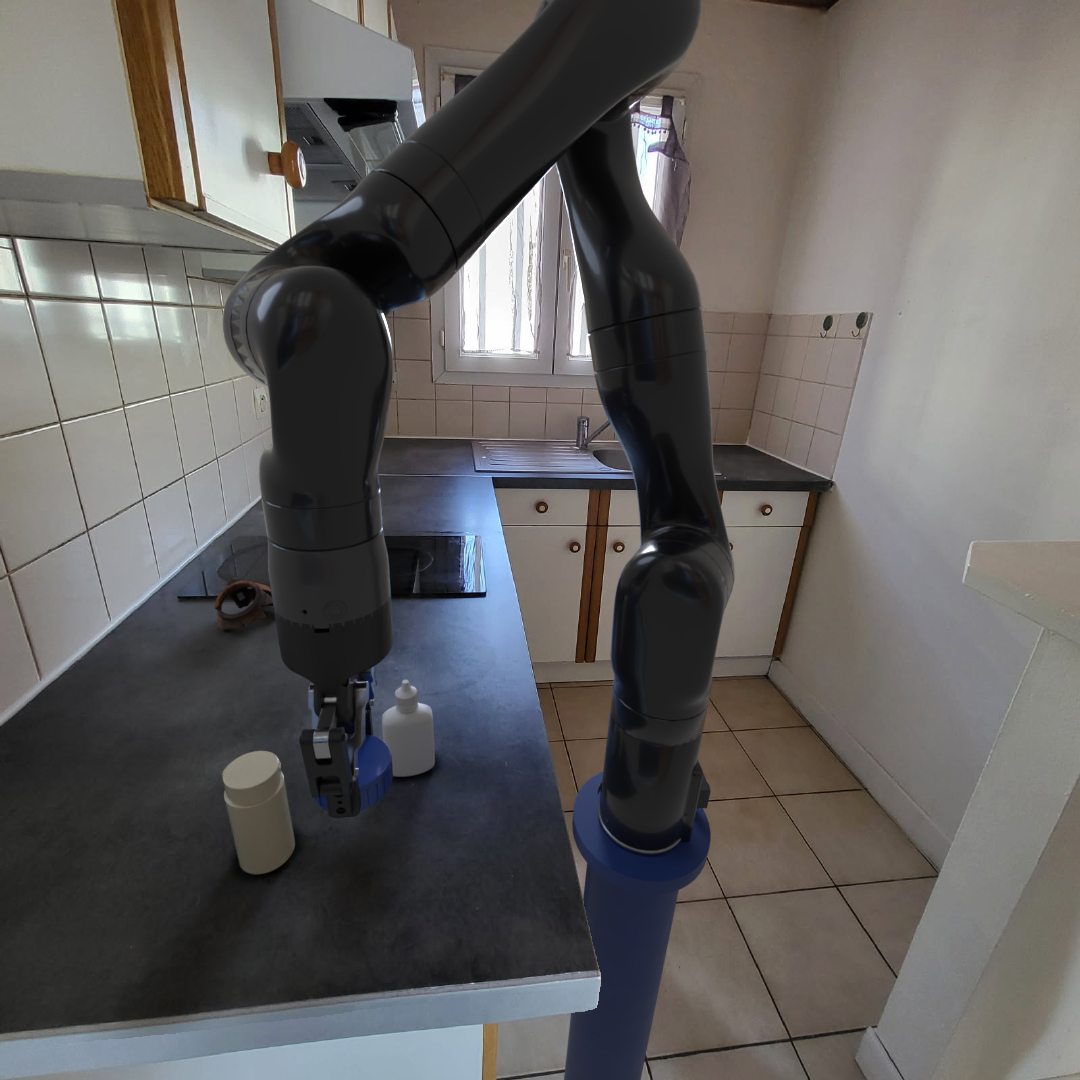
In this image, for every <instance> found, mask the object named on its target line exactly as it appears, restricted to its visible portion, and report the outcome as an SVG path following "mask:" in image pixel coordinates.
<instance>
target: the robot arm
mask: <svg viewBox="0 0 1080 1080" xmlns="http://www.w3.org/2000/svg"><path fill="white" fill-rule="evenodd" d="M701 13H702V0H541V1H540V4H539V5H538V8H537V10H536V12H535V14H534V19H533V21H532V22H531V23H530V24H529V26H528V27H527V28H526V29H525V30H524V31H523V32H522V33H521V34H520V35H519V36H518V37H517V38H516V39H515V40H514V41H513V42H512V43H511V44H510V45H509V46H508V47H507V48H506V49H505V50H504V51H503V52H502V53H501V54H500V55H499V56H497V58H496V59H495V60H493V61H492V62H491V63H490V64H489V65H488V66H487V67H486V68H484V69H483V70H482V71H481V72H480V73H479V74H478V75H477V76H476V77H475V78H474V79H472V80H471V81H470V82H469V83H468V84H466V86H464V87H462V89H461V90H460V91H459V92H457V93H456V94H455V95H454V96H453V97H452V98H450V99H449V100H448V101H447V102H446V103H445V104H443V105H442V106H441V107H440V108H439V109H438V110H437V111H435V113H433V114H432V115H431V116H430V117H429V118H427V119H426V120H425V121H424V122H423V123H422V124H420V126H418V127H417V128H416V129H415V130H414V131H413V132H412V133H410V135H408V136H407V137H406V138H405V139H404V140H403V141H402V142H401V143H400V144H399V145H397V146H396V147H395V148H394V149H393V150H392V151H391V152H390V153H389V154H388V155H387V156H385V158H383V159H382V160H381V161H380V162H379V163H377V165H376V166H375V167H374V168H373V169H372V170H371V171H369V173H367V175H366V176H365V177H363V179H362V180H361V181H359V183H358V184H357V185H356V186H355V188H354V189H352V191H351V192H350V193H348V195H347V196H346V197H344V199H343V200H341V201H340V202H339V203H338V204H337V205H336V206H334V207H333V208H331V210H329V211H328V212H326V213H325V214H323V215H321V216H320V217H318V218H317V219H315V220H314V221H312V222H311V223H310V224H308V225H307V226H305V227H304V228H302V229H301V230H299V231H298V232H297V233H295V234H294V235H293V236H291V237H290V238H288V239H286V240H285V241H284V242H283V243H281V244H279V245H278V246H277V247H276V248H274V249H273V250H272V251H270V252H269V253H268V254H266V255H265V256H264V257H263V258H262V259H260V260H259V261H258V262H257V263H256V264H254V266H252V267H251V268H250V269H249V270H248V271H246V272H245V274H244V275H243V276H242V277H241V278H240V279H238V281H237V283H236V284H235V285H234V286H233V288H232V289H231V290H230V293H229V294H228V296H227V299H226V301H225V304H224V307H223V311H222V319H221V320H222V321H221V327H222V328H221V329H222V333H223V339H224V342H225V346H226V348H227V350H228V352H229V354H230V356H231V357H232V359H233V361H234V362H235V363H236V364H237V366H239V368H240V369H241V370H242V372H244V373H245V374H246V375H248V376H249V377H250V378H251V379H253V380H255V381H256V382H258V383H259V384H261V385H262V386H263V385H264V386H265V387H267V390H268V397H269V409H270V411H269V412H270V423H271V424H270V426H271V443H270V444H269V445H268V446H267V447H266V448H265V449H263V451H262V452H261V456H260V459H259V462H258V480H259V492H260V497H261V506H262V511H263V517H264V525H265V531H266V537H267V572H268V580H269V588H270V589H271V594H272V600H273V606H272V607H273V612H274V619H275V625H276V626H275V627H276V632H277V639H278V645H279V653H280V657H281V660H282V662H283V664H284V665H285V666H286V668H287V669H289V671H292V672H293V673H294V674H296V675H298V676H300V677H302V678H305V679H306V680H307V681H309V682H311V683H309V685H308V689H307V708H308V709H309V710H310V711H311V728H305V729H302V730H301V733H300V735H299V739H298V740H299V741H298V742H299V743H298V744H299V745H300V751H301V756H302V759H303V765H304V768H305V772H306V778H307V781H308V786H309V791H310V794H311V798H313V799H314V797H321V796H326V800H327V807H328V811H327V814H328V816H329V817H330V818H332V819H341V818H344V819H345V818H354V817H357V816H359V814H360V812H361V811H360V807H361V798H360V789H359V779H358V776H359V768H358V749H359V748H360V747H361V745H362V744H363V742H364V740H365V734H368V735H373V736H374V728H373V715H372V711H373V709H374V706H375V696H376V695H375V694H376V687H377V686H378V680H377V678H376V666H377V665H378V664H380V663H381V662H382V661H384V659H386V658H387V656H388V655H389V653H390V652H391V650H392V647H393V645H394V624H393V608H392V591H391V576H390V562H389V554H388V547H387V545H386V540H385V539H386V538H385V535H384V527H383V526H384V525H383V514H382V512H383V511H382V509H383V508H382V496H381V495H382V494H381V483H380V475H379V463H380V457H381V454H382V450H383V446H384V441H385V434H386V428H387V422H388V418H389V417H388V416H389V411H390V410H389V409H390V404H391V398H392V390H393V380H394V351H393V344H392V338H391V335H390V331H389V327H388V323H387V320H386V318H387V316H389V315H390V314H391V313H393V312H395V311H397V310H398V309H400V308H402V307H405V306H408V305H413V304H416V303H420V302H423V301H426V300H427V299H430V298H431V297H432V296H434V295H435V294H437V293H438V292H439V291H441V290H442V289H443V288H444V287H445V286H446V285H447V284H448V283H449V282H450V281H451V280H452V279H453V278H454V277H455V276H456V274H457V273H458V272H459V271H460V270H461V269H463V267H464V266H465V265H466V264H467V263H469V261H470V260H471V258H473V257H474V255H476V253H477V252H478V251H480V250H481V248H482V247H483V246H484V245H485V244H486V243H487V241H488V240H489V239H490V238H491V237H492V236H493V235H494V234H495V233H496V231H498V229H499V228H500V227H501V226H502V225H503V224H504V223H505V221H506V220H507V219H508V218H509V217H510V216H511V215H512V214H513V212H515V210H516V209H517V208H518V207H519V206H520V204H521V203H522V202H523V201H524V200H525V198H526V197H527V196H528V195H530V193H531V192H532V190H534V188H535V187H536V186H537V185H538V184H539V183H540V182H541V180H543V178H544V177H545V176H546V175H547V174H548V173H549V172H550V171H551V169H552V168H553V167H554V166H555V165H556V169H557V173H558V177H559V181H560V185H561V189H562V192H563V198H564V202H565V206H566V211H567V217H568V222H569V227H570V234H571V239H572V244H573V251H574V256H575V261H576V266H577V271H578V277H579V282H580V288H581V294H582V300H583V307H584V315H585V325H586V332H587V334H588V336H587V338H588V344H589V350H590V351H589V352H590V357H591V362H592V363H591V364H592V369H593V375H594V381H595V385H596V389H597V393H598V395H599V399H600V402H601V405H602V408H603V410H604V413H605V415H606V417H607V419H608V422H609V424H610V426H611V428H612V430H613V433H614V434H615V437H616V439H617V441H618V443H619V445H620V447H621V449H622V451H623V454H624V456H625V458H626V460H627V462H628V464H629V467H630V470H631V474H632V477H633V481H634V485H635V492H636V497H637V506H638V519H639V529H640V530H639V531H640V533H639V534H640V536H639V537H640V538H639V539H640V541H639V542H640V545H639V548H638V550H637V551H636V552H635V553H634V554H633V556H632V557H631V558H630V559H629V560H628V562H626V564H625V565H624V567H623V568H622V569H621V572H620V575H619V578H618V580H617V584H616V588H615V594H614V600H613V601H614V602H613V610H612V623H611V624H612V625H611V638H610V639H611V641H610V653H609V654H610V655H609V656H610V658H609V659H610V665H611V668H612V672H613V681H612V691H611V698H610V699H611V701H610V710H609V719H608V727H607V734H606V743H605V753H604V761H603V771H602V772H603V778H602V783H601V784H600V786H599V788H598V794H599V792H600V791H601V794H600V801H599V806H598V818H599V822H600V825H601V827H602V829H603V831H604V833H605V834H606V835H607V836H608V838H609V839H610V840H611V841H612V842H613V843H615V844H616V845H617V846H619V847H620V848H622V849H624V850H626V851H628V852H630V853H633V854H637V855H641V856H659V855H663V854H666V853H668V852H670V851H672V850H673V849H675V848H676V847H677V846H678V845H679V844H680V843H682V842H689V841H690V838H691V833H692V828H693V823H694V818H695V813H696V808H703V809H708V806H709V801H710V796H711V792H712V791H711V786H710V783H708V781H707V779H706V776H705V773H704V770H703V768H702V765H701V762H700V761H699V753H700V748H701V743H702V739H703V734H704V728H705V723H706V718H707V712H708V708H709V703H710V700H711V699H710V697H711V693H712V688H713V680H714V678H713V670H714V664H715V659H716V654H717V648H718V643H719V638H720V632H721V628H722V623H723V619H724V613H725V610H726V608H727V605H728V602H729V600H730V597H731V595H732V592H733V589H734V585H735V578H736V576H735V573H736V572H735V571H736V570H735V562H734V557H733V552H732V548H731V544H730V540H729V535H728V532H727V527H726V524H725V517H724V513H723V509H722V504H721V500H720V497H719V496H720V495H719V491H718V486H717V480H716V475H715V474H716V473H715V468H714V453H713V451H714V450H713V448H714V447H713V416H712V401H711V387H710V386H711V385H710V372H709V355H708V346H707V345H708V344H707V337H706V327H705V319H704V310H703V302H702V301H703V300H702V296H701V290H700V285H699V283H698V280H697V278H696V275H695V273H694V272H693V269H692V268H691V266H690V264H689V262H688V260H687V258H686V257H685V256H684V254H683V252H682V251H681V250H680V248H679V246H678V245H677V244H676V242H675V241H674V239H673V238H672V236H671V235H670V234H669V232H668V231H667V230H666V229H665V227H664V226H663V224H662V223H661V221H660V220H659V219H658V217H657V216H656V214H655V213H654V211H653V210H652V208H651V206H650V204H649V202H648V200H647V199H646V196H645V193H644V190H643V187H642V184H641V179H640V177H639V171H638V164H637V160H636V153H635V147H634V140H633V127H632V126H633V125H632V109H633V107H635V106H636V105H637V104H638V103H640V102H641V101H642V100H643V99H644V98H646V97H647V96H648V95H649V94H651V93H652V92H653V91H654V90H655V89H657V88H658V87H659V86H660V85H661V84H662V83H664V82H665V81H666V80H667V79H669V77H670V76H671V75H672V74H673V73H674V71H675V70H677V68H678V67H679V66H680V64H681V63H682V62H683V61H684V59H685V57H686V55H687V54H688V52H689V50H690V48H691V46H692V44H693V43H694V40H695V37H696V34H697V31H698V28H699V23H700V20H701V19H700V18H701Z"/></svg>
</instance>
